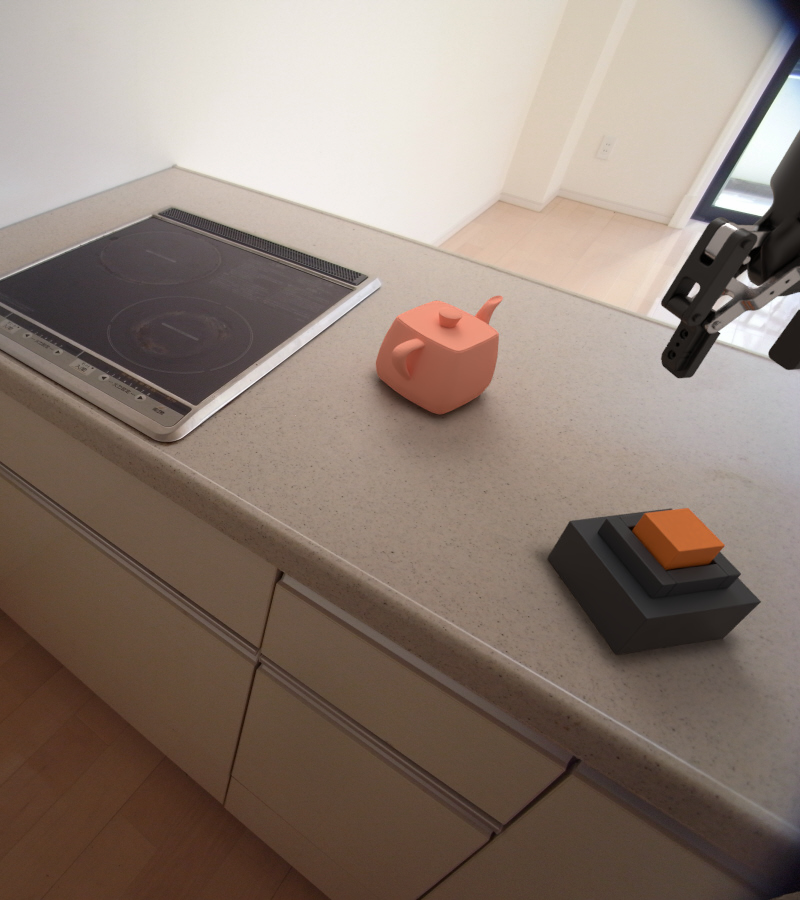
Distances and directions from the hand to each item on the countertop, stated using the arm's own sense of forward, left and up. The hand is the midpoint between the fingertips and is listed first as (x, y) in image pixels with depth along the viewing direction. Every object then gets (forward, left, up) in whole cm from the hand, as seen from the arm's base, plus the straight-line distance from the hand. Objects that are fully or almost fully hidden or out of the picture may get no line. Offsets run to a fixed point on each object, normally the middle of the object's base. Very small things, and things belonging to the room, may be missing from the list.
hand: (729, 367), depth 45 cm
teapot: (+28, +3, -22) cm, 36 cm away
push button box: (-4, -1, -22) cm, 22 cm away
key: (-4, -1, -15) cm, 15 cm away
